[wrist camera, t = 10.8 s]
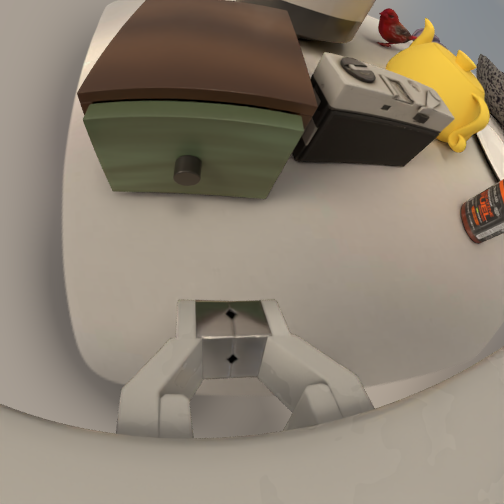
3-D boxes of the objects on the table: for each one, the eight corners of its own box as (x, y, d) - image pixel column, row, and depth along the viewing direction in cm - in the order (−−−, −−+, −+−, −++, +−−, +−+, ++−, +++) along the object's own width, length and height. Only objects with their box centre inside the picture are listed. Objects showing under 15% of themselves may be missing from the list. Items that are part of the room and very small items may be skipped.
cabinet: (269, 191, 21) (318, 106, 12) (111, 183, 19) (76, 93, 10) (262, 80, 26) (287, 10, 17) (147, 72, 23) (146, -1, 14)
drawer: (266, 213, 20) (307, 149, 12) (109, 206, 17) (74, 137, 10) (259, 86, 24) (280, 25, 17) (147, 78, 22) (146, 14, 14)
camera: (376, 115, 28) (419, 63, 19) (404, 169, 26) (461, 119, 17) (273, 101, 25) (306, 23, 15) (296, 165, 23) (349, 81, 13)
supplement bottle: (454, 199, 28) (515, 159, 17) (475, 208, 29) (529, 175, 18) (464, 242, 26) (533, 208, 15) (484, 247, 27) (544, 219, 17)
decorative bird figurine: (358, 36, 37) (379, 2, 28) (407, 51, 43) (426, 25, 33) (366, 44, 37) (389, 9, 27) (414, 58, 42) (434, 33, 33)
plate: (453, 104, 39) (458, 99, 37) (500, 141, 44) (504, 138, 42) (498, 207, 32) (505, 203, 30) (532, 226, 37) (537, 223, 35)
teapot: (358, 45, 35) (390, -6, 23) (425, 78, 39) (458, 40, 26) (407, 145, 28) (475, 79, 15) (475, 176, 32) (529, 137, 19)
